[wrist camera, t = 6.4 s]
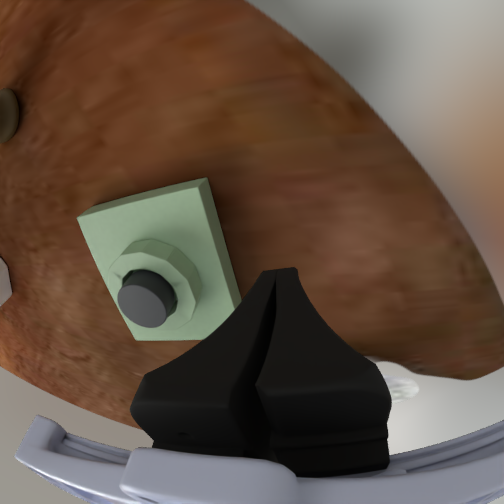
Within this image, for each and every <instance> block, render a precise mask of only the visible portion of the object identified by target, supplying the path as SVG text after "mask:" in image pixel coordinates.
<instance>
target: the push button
mask: <svg viewBox="0 0 504 504" xmlns="http://www.w3.org/2000/svg"><path fill="white" fill-rule="evenodd" d="M117 301H118V305H119V307H120V309H121V311H122V312H123V314H124V315H125V316H126V317H127V318H128V319H129V320H130V321H132V322H133V323H135V324H137V325H139V326H142V327H146V328H156V327H159V326H161V325H162V324H163V323H164V322H165V321H166V319H167V317H168V315H169V313H170V311H171V309H172V307H173V305H174V302H175V294H174V291H173V289H172V287H171V285H170V284H169V282H168V281H167V280H166V279H165V278H163V277H162V276H161V275H159V274H157V273H155V272H152V271H148V270H140V271H136V272H134V273H133V274H131V276H130V277H129V278H128V279H127V281H126V282H125V283H124V285H123V286H122V287H121V289H120V290H119V292H118V296H117Z"/></svg>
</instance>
